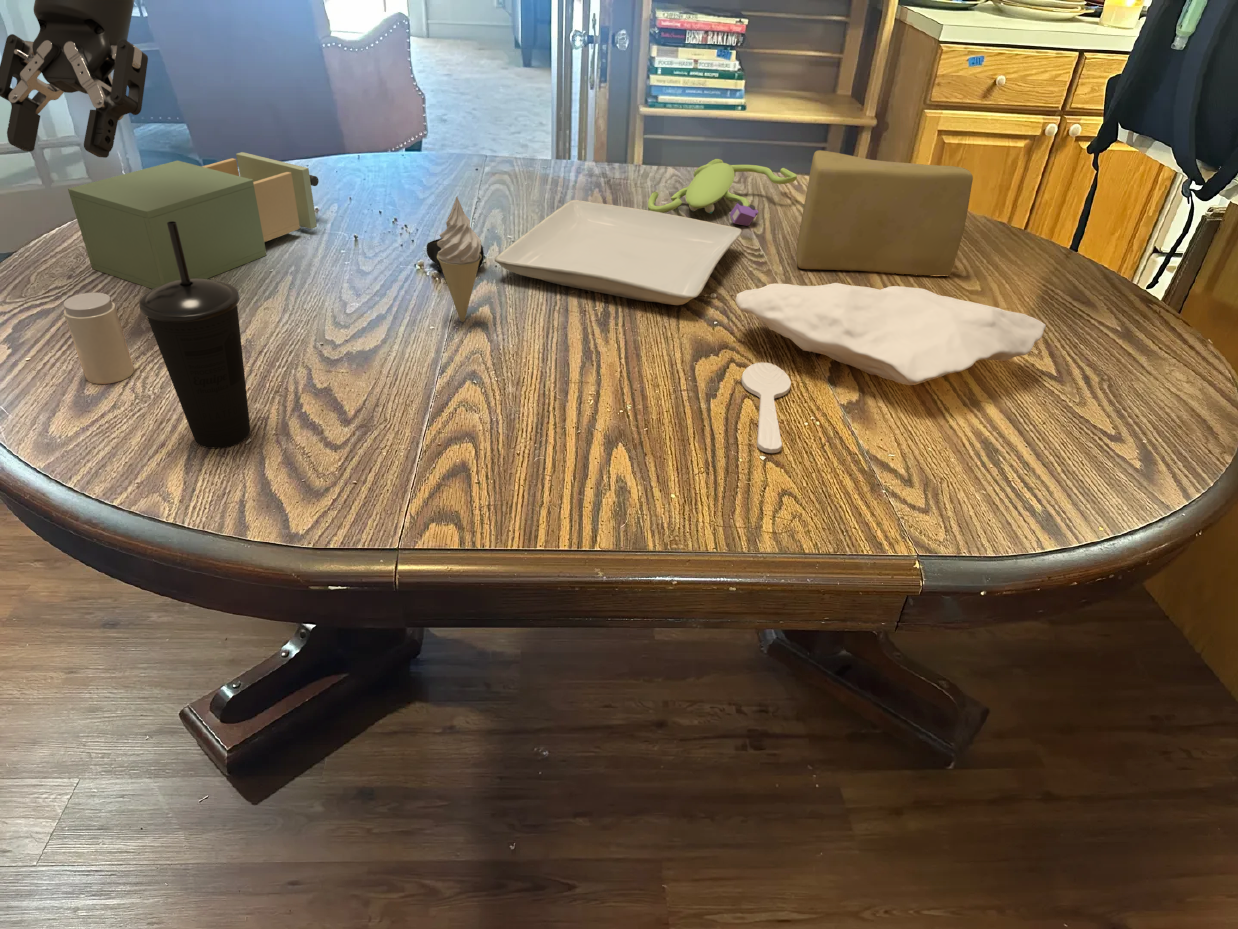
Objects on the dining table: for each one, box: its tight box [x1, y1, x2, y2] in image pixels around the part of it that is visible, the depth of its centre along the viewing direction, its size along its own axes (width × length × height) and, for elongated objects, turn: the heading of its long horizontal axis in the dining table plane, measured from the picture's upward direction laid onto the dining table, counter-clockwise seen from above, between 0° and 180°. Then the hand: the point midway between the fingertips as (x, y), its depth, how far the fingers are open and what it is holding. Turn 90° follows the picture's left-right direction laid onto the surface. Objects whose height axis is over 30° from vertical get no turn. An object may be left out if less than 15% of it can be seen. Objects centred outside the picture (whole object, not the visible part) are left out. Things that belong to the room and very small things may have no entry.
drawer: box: [201, 151, 319, 243], centre depth 118 cm, size 19×12×8 cm, turn 153°
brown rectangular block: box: [795, 149, 974, 276], centre depth 120 cm, size 22×10×15 cm, turn 81°
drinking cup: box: [138, 221, 251, 449], centre depth 73 cm, size 8×8×20 cm
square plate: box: [494, 199, 742, 306], centre depth 118 cm, size 27×27×4 cm
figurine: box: [647, 158, 798, 227], centre depth 143 cm, size 18×27×6 cm
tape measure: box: [426, 237, 485, 273], centre depth 113 cm, size 7×7×4 cm
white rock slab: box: [735, 282, 1047, 386], centre depth 97 cm, size 24×35×9 cm
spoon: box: [740, 361, 792, 454], centre depth 89 cm, size 5×18×1 cm, turn 173°
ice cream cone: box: [437, 195, 482, 323], centre depth 97 cm, size 5×5×15 cm
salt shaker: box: [62, 292, 135, 385], centre depth 85 cm, size 4×4×8 cm
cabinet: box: [67, 160, 267, 290], centre depth 108 cm, size 16×14×10 cm
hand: (57, 150), depth 80 cm, fingers open, 8 cm apart
